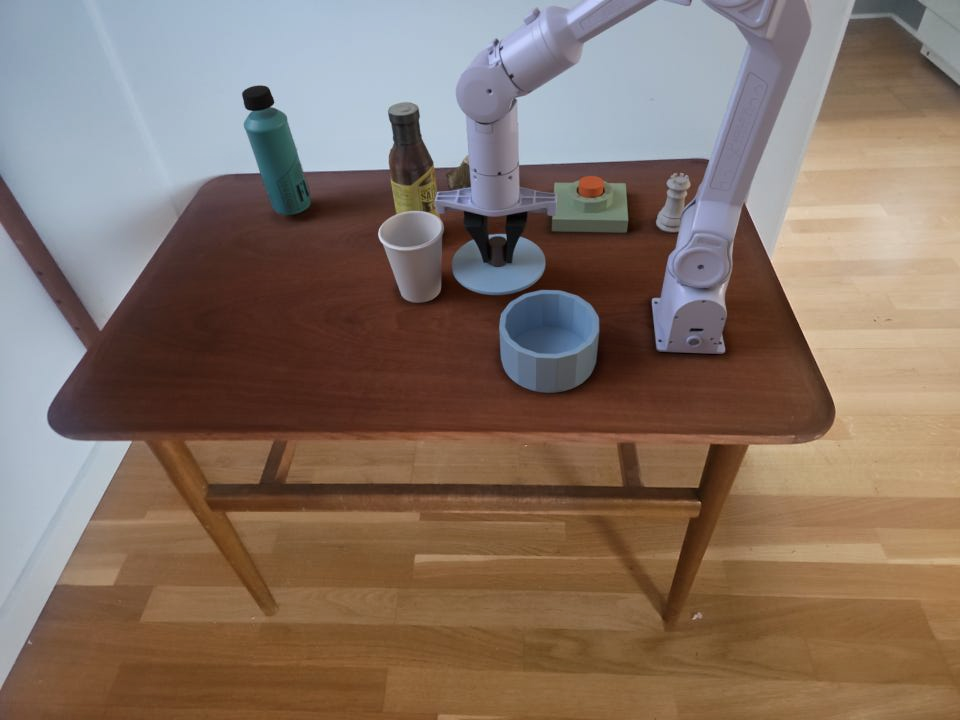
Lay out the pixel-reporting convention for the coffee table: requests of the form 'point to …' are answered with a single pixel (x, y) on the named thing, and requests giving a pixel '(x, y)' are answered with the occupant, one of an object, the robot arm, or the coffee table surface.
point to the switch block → (590, 209)
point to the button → (590, 187)
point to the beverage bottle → (275, 152)
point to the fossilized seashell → (460, 176)
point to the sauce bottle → (410, 162)
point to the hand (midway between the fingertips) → (498, 258)
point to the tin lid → (498, 266)
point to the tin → (549, 340)
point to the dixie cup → (414, 253)
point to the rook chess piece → (673, 203)
